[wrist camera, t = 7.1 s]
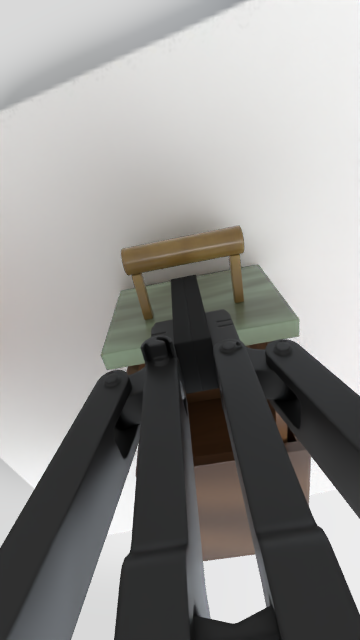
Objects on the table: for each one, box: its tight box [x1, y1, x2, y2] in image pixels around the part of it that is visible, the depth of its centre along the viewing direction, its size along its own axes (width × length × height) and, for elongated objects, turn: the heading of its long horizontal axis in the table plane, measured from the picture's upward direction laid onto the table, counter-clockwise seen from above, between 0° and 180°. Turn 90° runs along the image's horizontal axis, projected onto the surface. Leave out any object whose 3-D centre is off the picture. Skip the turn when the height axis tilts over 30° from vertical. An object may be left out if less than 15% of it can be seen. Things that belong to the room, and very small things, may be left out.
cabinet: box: [136, 426, 311, 561], centre depth 30 cm, size 15×13×11 cm
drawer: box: [101, 225, 299, 457], centre depth 23 cm, size 18×11×9 cm, turn 11°
